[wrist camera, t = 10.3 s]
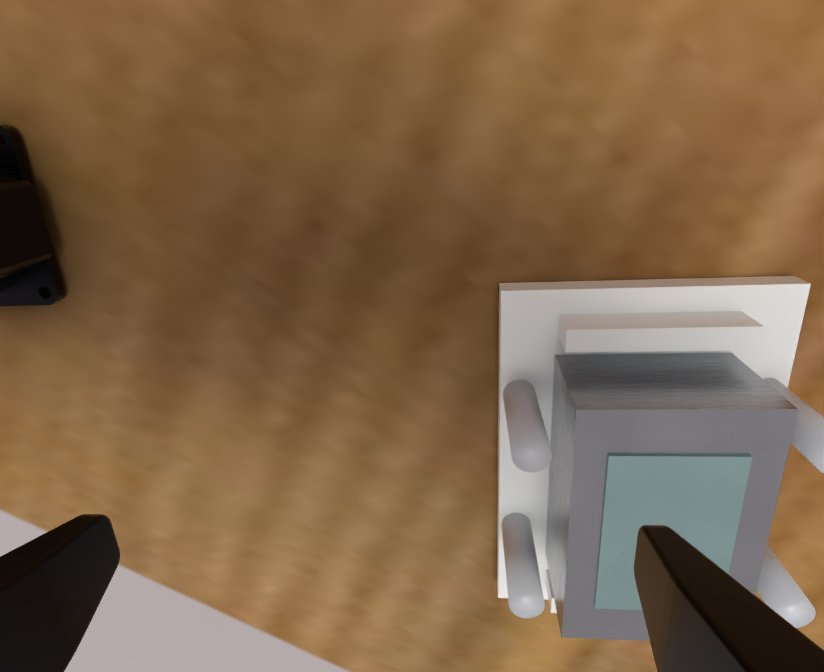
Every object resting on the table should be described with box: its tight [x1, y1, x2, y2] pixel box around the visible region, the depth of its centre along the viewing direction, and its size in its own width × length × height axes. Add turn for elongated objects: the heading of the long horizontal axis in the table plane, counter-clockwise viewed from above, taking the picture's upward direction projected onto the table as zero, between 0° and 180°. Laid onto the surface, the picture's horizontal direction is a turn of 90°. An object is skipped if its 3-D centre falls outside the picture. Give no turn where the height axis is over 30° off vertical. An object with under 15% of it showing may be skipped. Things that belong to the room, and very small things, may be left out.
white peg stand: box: [497, 276, 824, 628], centre depth 19 cm, size 10×14×5 cm
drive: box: [545, 353, 798, 641], centre depth 19 cm, size 6×9×4 cm, turn 3°
